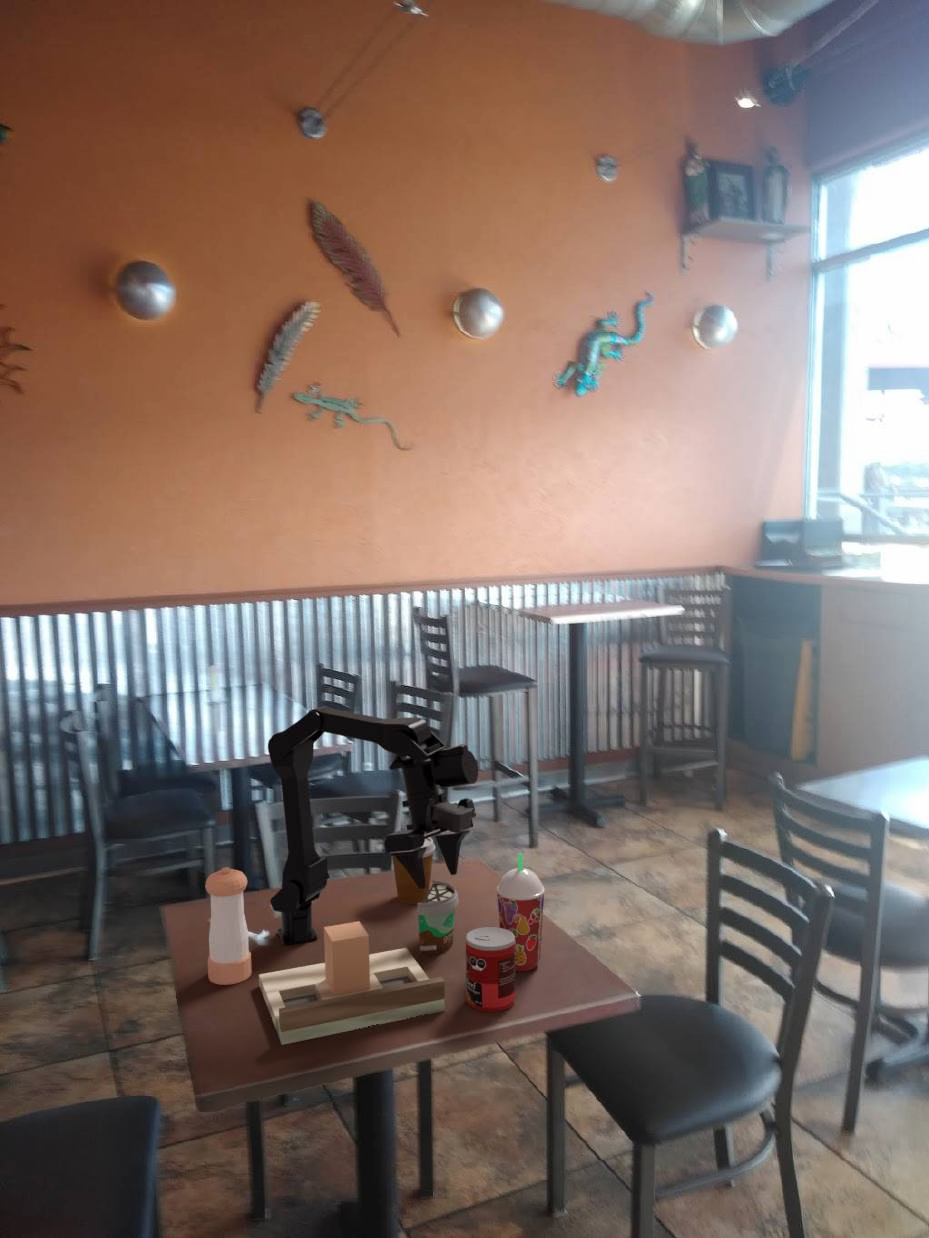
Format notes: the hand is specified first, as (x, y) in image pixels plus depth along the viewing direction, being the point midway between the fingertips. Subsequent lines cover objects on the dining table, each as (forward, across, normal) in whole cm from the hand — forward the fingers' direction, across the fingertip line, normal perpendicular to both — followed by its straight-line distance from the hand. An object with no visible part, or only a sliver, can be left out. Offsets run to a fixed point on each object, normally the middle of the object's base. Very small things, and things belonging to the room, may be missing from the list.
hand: (438, 881), depth 168 cm
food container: (+14, +9, +9) cm, 19 cm away
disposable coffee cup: (+9, +24, +26) cm, 37 cm away
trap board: (+15, -15, +11) cm, 24 cm away
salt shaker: (+10, -20, +33) cm, 40 cm away
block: (+12, -15, +11) cm, 22 cm away
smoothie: (+18, +10, -7) cm, 22 cm away
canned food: (+19, -4, -9) cm, 21 cm away
